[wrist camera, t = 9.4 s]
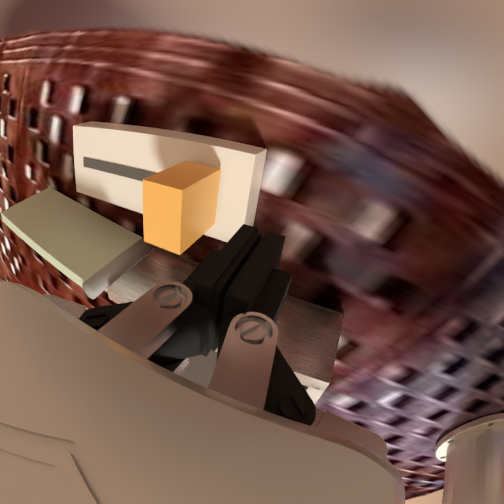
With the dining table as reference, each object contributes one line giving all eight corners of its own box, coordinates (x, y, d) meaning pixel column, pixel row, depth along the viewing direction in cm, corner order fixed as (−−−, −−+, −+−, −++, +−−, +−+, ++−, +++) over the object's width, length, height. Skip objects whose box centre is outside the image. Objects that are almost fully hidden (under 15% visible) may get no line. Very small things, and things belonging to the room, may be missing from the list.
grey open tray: (343, 313, 21) (329, 383, 15) (290, 409, 29) (272, 457, 24) (157, 246, 24) (106, 288, 19) (165, 357, 33) (136, 395, 28)
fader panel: (266, 148, 17) (255, 155, 15) (252, 233, 20) (240, 247, 19) (90, 121, 20) (72, 126, 19) (92, 184, 24) (75, 191, 22)
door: (152, 254, 24) (96, 302, 19) (50, 196, 27) (1, 223, 21) (153, 241, 24) (94, 288, 18) (50, 185, 26) (-1, 211, 20)
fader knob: (221, 168, 16) (182, 190, 13) (214, 224, 18) (180, 255, 15) (185, 160, 17) (142, 179, 13) (182, 213, 19) (144, 241, 15)
